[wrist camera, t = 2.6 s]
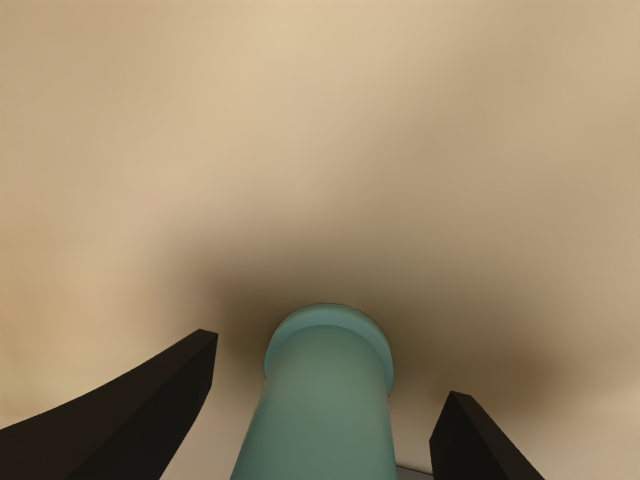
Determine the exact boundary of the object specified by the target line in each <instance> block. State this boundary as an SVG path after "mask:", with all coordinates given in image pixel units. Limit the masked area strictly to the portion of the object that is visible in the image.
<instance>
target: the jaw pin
mask: <svg viewBox="0 0 640 480" xmlns="http://www.w3.org/2000/svg"><path fill="white" fill-rule="evenodd" d="M264 374H265V379H266V381H265V384H264V387H263V389H262V392H261V395H260V398H259V400H258V403H257V406H256V409H255V411H254V414H253V417H252V420H251V422H250V425H249V428H248V431H247V433H246V436H245V439H244V442H243V444H242V447H241V450H240V453H239V455H238V458H237V461H236V464H235V466H234V469H233V472H232V475H231V477H230V480H398V479H397V471H396V463H395V455H394V446H393V438H392V430H391V422H390V414H389V406H388V396H389V394H390V392H391V389H392V386H393V381H394V367H393V361H392V355H391V350H390V345H389V343H388V340H387V338H386V336H385V334H384V333H383V331H382V330H381V328H380V327H379V326H378V325H377V324H376V323H375V322H374V321H373V320H372V319H371V318H369V317H368V316H367V315H365V314H363V313H362V312H360V311H358V310H356V309H354V308H351V307H348V306H344V305H340V304H332V303H321V304H314V305H309V306H306V307H303V308H300V309H298V310H296V311H294V312H293V313H291V314H290V315H288V316H287V317H286V318H285V319H284V320H283V321H282V322H281V323H280V324H279V325H278V327H277V328H276V330H275V332H274V334H273V336H272V339H271V341H270V344H269V346H268V349H267V351H266V355H265V359H264Z"/></svg>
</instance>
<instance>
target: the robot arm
mask: <svg viewBox="0 0 640 480" xmlns="http://www.w3.org/2000/svg"><path fill="white" fill-rule="evenodd" d="M217 340H218V333H214V332H210V331H206V330H202V329H198V330H196V331H195V332H193V333H191V334H190V335H188V336H187V337H185V338H183V339H182V340H180V341H179V342H177V343H175V344H174V345H172V346H171V347H169V348H167V349H166V350H164V351H163V352H161V353H159V354H158V355H156V356H154V357H153V358H151V359H149V360H147V361H146V362H144V363H142V364H141V365H139V366H137V367H136V368H134V369H132V370H130V371H129V372H127V373H125V374H123V375H121V376H119V377H117V378H116V379H114V380H112V381H110V382H108V383H106V384H104V385H103V386H101V387H99V388H97V389H95V390H93V391H91V392H89V393H86V394H84V395H82V396H80V397H78V398H76V399H74V400H71V401H69V402H67V403H65V404H62V405H60V406H58V407H56V408H53V409H51V410H49V411H46V412H44V413H41V414H39V415H36V416H34V417H31V418H29V419H26V420H24V421H21V422H19V423H16V424H13V425H11V426H8V427H6V428H3V429H1V430H0V480H159V479H160V477H161V476H162V474H163V472H164V471H165V469H166V468H167V466H168V464H169V463H170V461H171V459H172V458H173V456H174V455H175V453H176V451H177V450H178V448H179V446H180V445H181V443H182V441H183V440H184V438H185V437H186V435H187V433H188V432H189V430H190V428H191V427H192V425H193V423H194V422H195V420H196V418H197V416H198V414H199V412H200V410H201V408H202V406H203V404H204V401H205V399H206V397H207V395H208V393H209V391H210V388H211V386H212V378H213V371H214V363H215V355H216V348H217ZM429 445H430V454H431V463H432V471H433V479H434V480H545V479H544V478H543V477H542V476H541V475H540V474H539V472H538V471H537V470H536V469H535V468H534V467H533V466H532V465H531V464H530V462H529V461H528V460H527V459H526V458H525V457H524V456H523V455H522V453H521V452H520V451H519V450H518V449H517V448H516V447H515V445H514V444H513V443H512V442H511V441H510V440H509V438H508V437H507V436H506V435H505V434H504V433H503V431H502V430H501V429H500V428H499V427H498V426H497V424H496V423H495V422H494V421H493V420H492V419H491V418H490V416H489V415H488V414H487V413H486V412H485V411H484V409H483V408H482V407H481V406H480V405H479V404H478V403H477V402H476V401H475V400H474V398H473V397H472V396H470V395H466V394H462V393H458V392H454V391H450V393H449V395H448V398H447V400H446V402H445V405H444V407H443V410H442V412H441V414H440V417H439V419H438V421H437V424H436V426H435V428H434V431H433V433H432V435H431V438H430V440H429Z"/></svg>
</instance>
